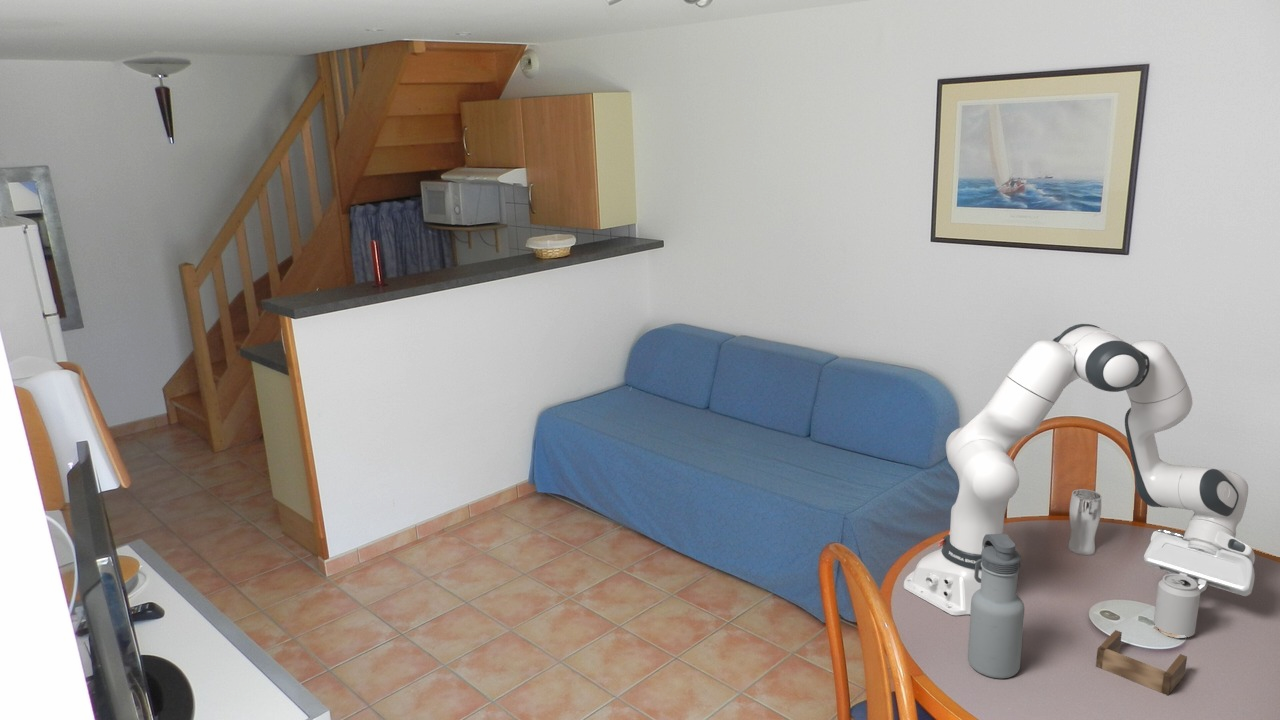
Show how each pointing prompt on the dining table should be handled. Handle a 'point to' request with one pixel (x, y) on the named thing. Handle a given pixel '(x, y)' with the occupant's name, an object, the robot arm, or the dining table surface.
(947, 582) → the robot arm
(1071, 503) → the beer glass
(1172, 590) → the can
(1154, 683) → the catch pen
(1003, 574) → the water bottle
